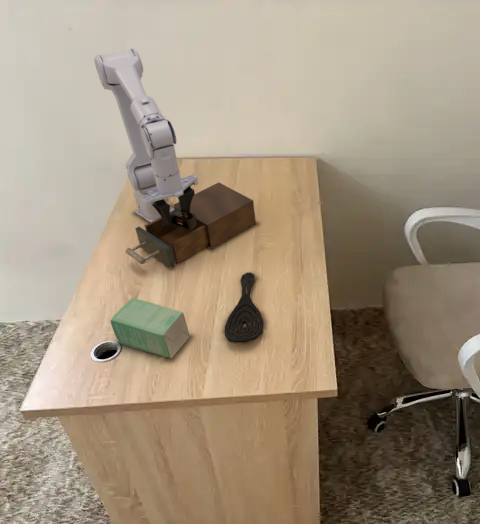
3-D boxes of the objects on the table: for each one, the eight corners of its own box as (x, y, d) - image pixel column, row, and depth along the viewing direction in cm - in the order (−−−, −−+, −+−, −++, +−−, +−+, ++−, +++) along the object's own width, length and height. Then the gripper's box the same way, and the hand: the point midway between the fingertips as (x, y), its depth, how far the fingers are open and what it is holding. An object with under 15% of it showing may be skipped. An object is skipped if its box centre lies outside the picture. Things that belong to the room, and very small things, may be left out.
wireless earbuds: (176, 218, 145) (173, 207, 143) (198, 225, 142) (196, 214, 140) (163, 227, 142) (160, 216, 140) (185, 235, 139) (183, 224, 137)
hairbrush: (265, 264, 139) (260, 335, 119) (266, 277, 141) (262, 348, 121) (230, 266, 139) (220, 338, 118) (232, 278, 141) (222, 351, 120)
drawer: (151, 279, 138) (146, 259, 134) (121, 257, 144) (115, 238, 141) (216, 242, 150) (213, 222, 146) (186, 223, 156) (182, 204, 152)
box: (138, 320, 128) (130, 295, 123) (190, 336, 124) (184, 311, 120) (117, 343, 123) (107, 318, 118) (171, 360, 119) (163, 335, 114)
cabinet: (212, 249, 148) (207, 225, 144) (178, 228, 156) (173, 204, 151) (256, 224, 157) (253, 200, 153) (222, 205, 165) (218, 182, 160)
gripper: (149, 189, 127) (161, 239, 135) (202, 165, 135) (210, 213, 144) (131, 178, 130) (144, 227, 139) (183, 155, 139) (193, 202, 148)
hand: (177, 219), depth 142 cm, fingers closed on wireless earbuds, 5 cm apart
